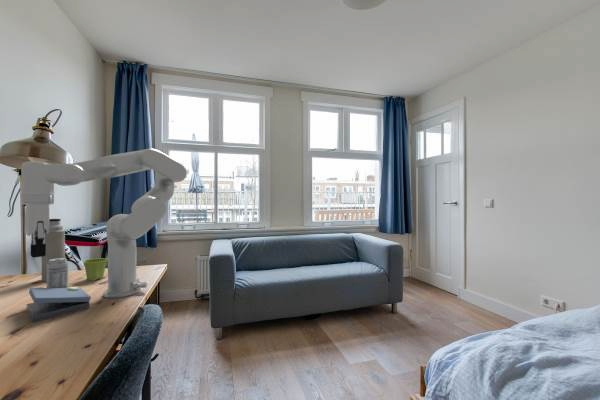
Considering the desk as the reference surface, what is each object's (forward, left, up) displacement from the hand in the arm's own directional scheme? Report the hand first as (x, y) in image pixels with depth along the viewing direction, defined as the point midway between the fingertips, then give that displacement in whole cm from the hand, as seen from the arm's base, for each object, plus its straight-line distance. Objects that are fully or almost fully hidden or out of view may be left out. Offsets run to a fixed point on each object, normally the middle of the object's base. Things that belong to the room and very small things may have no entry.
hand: (38, 255), depth 86 cm
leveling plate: (-4, -3, -15) cm, 16 cm away
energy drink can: (+3, -13, -19) cm, 24 cm away
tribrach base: (-4, -3, -19) cm, 20 cm away
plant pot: (+3, -39, -19) cm, 43 cm away
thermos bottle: (+22, -42, -19) cm, 51 cm away
